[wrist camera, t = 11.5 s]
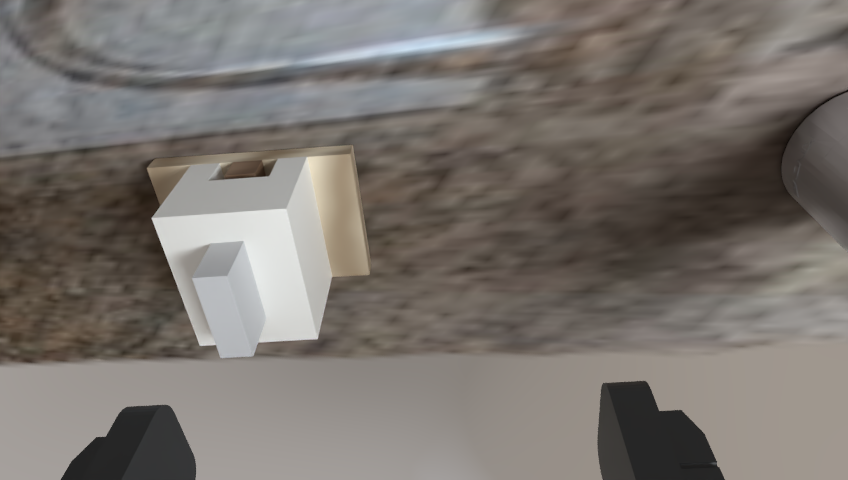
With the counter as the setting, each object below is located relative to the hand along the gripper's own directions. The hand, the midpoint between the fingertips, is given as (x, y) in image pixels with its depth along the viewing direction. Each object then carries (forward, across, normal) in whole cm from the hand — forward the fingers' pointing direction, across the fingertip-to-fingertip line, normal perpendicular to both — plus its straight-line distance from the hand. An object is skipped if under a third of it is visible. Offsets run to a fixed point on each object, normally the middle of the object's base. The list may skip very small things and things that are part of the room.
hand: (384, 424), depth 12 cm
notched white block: (+30, +13, +13) cm, 35 cm away
